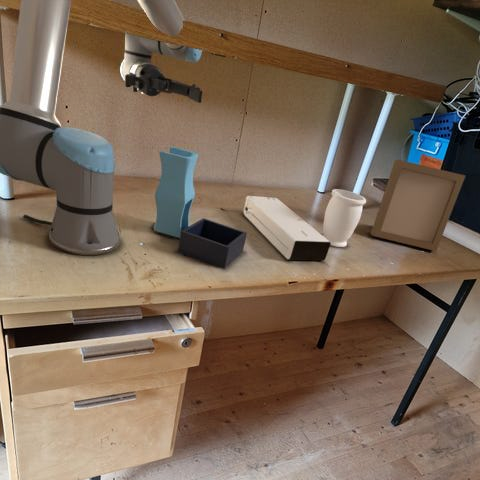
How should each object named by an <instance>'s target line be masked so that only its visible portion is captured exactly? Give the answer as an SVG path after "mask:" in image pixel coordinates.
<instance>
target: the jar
mask: <svg viewBox="0 0 480 480" xmlns="http://www.w3.org/2000/svg"><path fill="white" fill-rule="evenodd" d="M366 203H367V198H365V197H364V196H363V195H360V194H358V193H356V192H353V191H350V190H346V189H341V188H338V189H337V188H334V189H332V191H331V198H330V199H329V201H328V203H327V205H326V209H325V211H324V217H323V224H322V232H323V234H321V235H322V236H323V237H325V238H326V239H327V240H328V241H329V242H330V243H331V244H330V246H332V247H336V248H345V247H346V246H347V245H348V242H347V241H348V240H349V239H350V238H351V237H352V235H353V234H354V231H355V229H356V228H357V226H358V224H359V222H360V220H361V217H362V213H363V206H364V205H366Z"/></svg>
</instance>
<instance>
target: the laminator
mask: <svg viewBox="0 0 480 480" xmlns="http://www.w3.org/2000/svg"><path fill="white" fill-rule="evenodd" d="M243 205H244V206H243V210H242V211H243V212H242V213H243V216H244V217H245V218H246V219H247V220H248V221H249V223H251V224H252V225H253V227H254V228H256V230H258V232H259V233H260V234H261V235H262V236H263V237H264V238H265V239H266V240H267V241H268V243H270V245H272V246H273V247H274V248H275V249H276V250H277V251H278V252H279V254H281V256H282V257H283V258H284V259H285V260H286V261H321V262H323V261H325V260H326V258H327V256H328V253H329V250H330V248H331V247H330V246H331V245H330V244H331V243H330V242H329V241H328V240H327V239H326V238H325V237H323V236H322V235H323V234H321V233H320V232H319V231H317V230H316V229H315V228H314V227H313V226H311V225H310V224H309V223H307V222H306V221H305V220H304V219H303V218H302V217H300V216H299V215H298V214H297V213H295V212H294V211H293V210H292V209H291V208H289V207H288V206H287V205H286V204H284V203H283V202H282V201H281V200H280V199H279V198H277V197H270V196H258V195H246V196H245V200H244V204H243Z"/></svg>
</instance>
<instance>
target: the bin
mask: <svg viewBox="0 0 480 480" xmlns="http://www.w3.org/2000/svg"><path fill="white" fill-rule="evenodd" d="M247 235H248V232H246V231H243V230H240V229H237V228H234V227H231V226H229V225H225V224H222V223H221V222H220V223H219V222H217V221H213V220H211V219H207V218H204V217H203V218H200V219H199V220H198V221H195V222H194V223H192V224H191V225H190V226H189V227H187V228H185V229H184V230H182V231H181V234H180V238H179V243H178V251H177V252H178V253H180V254H182V255H185V256H188V257H191V258H194V259H196V260H199V261H202V262H205V263H208V264H210V265H214V266H216V267H219V268H222V269H226V268H227V267H228V266H229V265H230V264H232V263H233V262H234V261H235V260H236V259H237V258H238V257H240V255H241V254H242V253H243V252H244V249H245V245H246V239H247Z"/></svg>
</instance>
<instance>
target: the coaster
mask: <svg viewBox="0 0 480 480" xmlns="http://www.w3.org/2000/svg"><path fill="white" fill-rule="evenodd" d="M184 229H185V228H181V231H182V230H184ZM154 232H155V233H157V234H158V235H160V236H163V237H167V238H172V239H179V238H178V237H175V236H171V235H168V234H164V233H160V232H157V231H155V230H154Z"/></svg>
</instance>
